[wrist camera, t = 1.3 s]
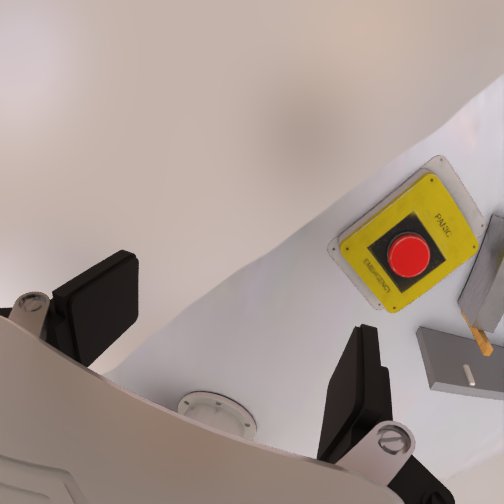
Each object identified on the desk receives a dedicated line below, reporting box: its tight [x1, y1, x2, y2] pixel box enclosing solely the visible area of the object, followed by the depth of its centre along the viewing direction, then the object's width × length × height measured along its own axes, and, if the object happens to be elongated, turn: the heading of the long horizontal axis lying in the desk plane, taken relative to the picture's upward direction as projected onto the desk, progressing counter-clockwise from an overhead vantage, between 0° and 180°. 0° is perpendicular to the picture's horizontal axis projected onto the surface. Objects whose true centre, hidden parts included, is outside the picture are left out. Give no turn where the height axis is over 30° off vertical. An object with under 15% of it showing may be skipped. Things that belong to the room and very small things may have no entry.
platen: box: [458, 215, 504, 356], centre depth 22 cm, size 11×3×8 cm, turn 170°
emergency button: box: [327, 155, 486, 313], centre depth 26 cm, size 9×4×15 cm
